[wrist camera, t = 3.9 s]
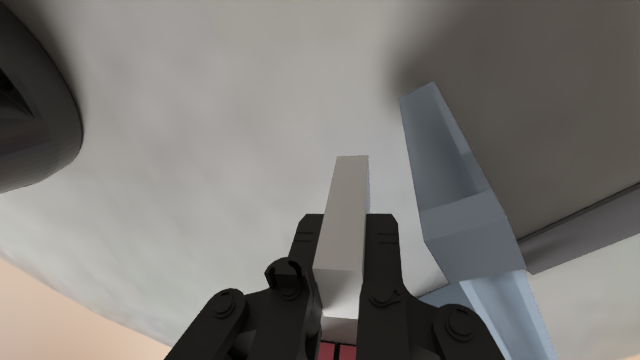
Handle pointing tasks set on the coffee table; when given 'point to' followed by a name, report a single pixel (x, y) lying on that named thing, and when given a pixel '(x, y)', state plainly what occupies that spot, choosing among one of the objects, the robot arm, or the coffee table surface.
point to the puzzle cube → (336, 351)
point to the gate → (470, 227)
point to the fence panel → (447, 296)
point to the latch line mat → (583, 231)
